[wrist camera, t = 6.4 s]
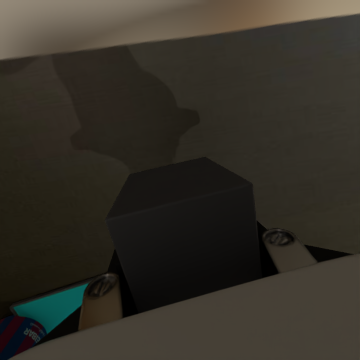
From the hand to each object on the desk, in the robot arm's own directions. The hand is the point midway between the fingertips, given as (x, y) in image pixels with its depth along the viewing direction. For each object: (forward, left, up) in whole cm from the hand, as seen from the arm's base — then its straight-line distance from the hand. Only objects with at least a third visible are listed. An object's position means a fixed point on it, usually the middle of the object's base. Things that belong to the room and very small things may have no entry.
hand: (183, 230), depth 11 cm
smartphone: (+14, -16, -12) cm, 25 cm away
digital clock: (0, 0, -1) cm, 1 cm away
